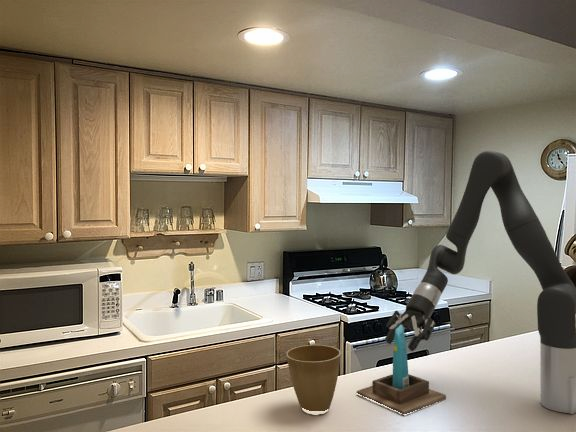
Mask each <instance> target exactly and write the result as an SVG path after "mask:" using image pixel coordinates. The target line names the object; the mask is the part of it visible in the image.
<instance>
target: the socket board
mask: <svg viewBox="0 0 576 432" xmlns="http://www.w3.org/2000/svg"><path fill="white" fill-rule="evenodd" d="M408 374H409V386H408V387H405V388H402V389H397V388H394V387H393V373H391V374H389V375H386V376H383V377H381V378H377V379H375V380H372V381H371V382H372V383H371V384H372V385H371V386H367V387H364V388H361V389H359V390H356V393H358V394H360V395H362V396H364V397H367V398H369V399H372V400H374V401H376V402H378V403H380V404H383V405H385V406H387V407H389V408H391V409H393V410H396V411H398V412H400V413H402V414H407V413H410V412H413V411H415V410H418V409H421V408H423V407H426V406H428V407H430V406H429V405H431V406H433V405H435V404H434V403H436V402H438V403H440V402H442V400H443V401H445V400H447V395H446V394H444V393H442V392H439V391H436V390H433V389H431V388H430V381H429V380H427V379H424V378H420V377H418V376H416V375H413V374H410V373H408ZM444 399H445V400H444ZM439 401H440V402H439ZM432 404H433V405H432ZM436 404H437V403H436ZM426 408H427V407H426ZM421 410H422V409H421Z"/></svg>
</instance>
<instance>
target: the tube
mask: <svg viewBox="0 0 576 432" xmlns="http://www.w3.org/2000/svg"><path fill="white" fill-rule="evenodd" d="M395 329H396V328H395ZM405 334H406V333H405V330H404V329H403V325H402V323H401V324H400V326H399V327H397V329H396V330H395V337H394V339H393V349H392V374H393V387H394V388H397V389H402V388H405V387H408V386H409V374H410V373H409V365H408V351H407V343H406V341H407V340H406V336H405Z"/></svg>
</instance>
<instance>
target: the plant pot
mask: <svg viewBox="0 0 576 432" xmlns="http://www.w3.org/2000/svg"><path fill="white" fill-rule="evenodd" d="M341 353H342V352H341V350H340V349H339V348H337V347H334V346H331V345H323V344H308V345H307V344H306V345H305V344H304V345H300V346H296V347H292V348H290V349H289V350H287V351H286V360H287V365H288V369H289V375H290V379H291V382H292V386H293V387H292V388H293V390H294V393H295V396H296V399H297V401H298V404H299V406H300V408H301V407H302V408H304V409H306V410H309V411H325V410H327V409H329V410H330V407H331V404H332V402H333V398H334V394H335V391H336V386H337V382H338V376H339V372H340V366H341V364H340V363H341V355H342V354H341Z"/></svg>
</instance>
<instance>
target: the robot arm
mask: <svg viewBox="0 0 576 432" xmlns="http://www.w3.org/2000/svg"><path fill="white" fill-rule="evenodd" d="M490 189H491V191H492V192H493V193H494V195H495V198H496V199H497V201H498V205H499V208H500V214H501V220H502V225H503V226H504V230H505V232H506V234H507V236H508V239H509V240H510V242H511V244H512V246H513V248H514V250H515V251H516V252H517V254H519V256H520V257H521V258H522V259H523V260H524V261H525V263H527V265H528V266H529V267H530V268H531V270H532V272H534V274H535V276H536V277H537V279H538V282H539V285H540V286H541V289H542V291H541V292H540V293H539V294H538V296H537V297H538V298H537V304H536V313H537V314H536V315H537V316H536V318H537V331H538V334H539V337H540V339H539V341H540V344H539V345H540V346H539V347H540V348H539V349H540V350H539V351H540V352H539V353H540V359H539V361H540V364H539V365H540V367H539V369H540V370H539V371H540V375H539V376H540V380H539V381H540V383H539V384H540V393H539V396H540V405H542V406H543V408H546V409H548V410H550V411H554V412H556V413H557V412H558V413H566V414H570V415H573V414H575V413H576V285H575V284H574V283H573V281H572V280H571V278H570V276H568V273H567V272H566V271H565V269H564V267H563V266H562V263H561V262H560V260H559V258H558V254H557V253H556V251H555V249H554V247H553V245H552V243H551V241H550V239H549V237H548V235H547V233H546V231H545V228H544V227H543V225H542V223H541V221H540V219H539V217H538V215H537V214H536V212H535V210H534V208H533V207H532V205H531V203H530V201H529V200H528V198H527V197H526V195H525V193H524V191H523V190H522V187H521V185H520V183H519V180H518V178H517V175H516V172H515V169H514V167H513V164H512V161H511V160H510V158H509V157H508V156H507V155H506V154H504V153H501V152H498V151H496V150H495V151H494V150H483V151H482V152H480V153H478V154H477V155H476V156H475V158H474V160H473V162H472V166H471V168H470V171H469V176H468V179H467V182H466V186H465V189H464V191H463V195H462V198H461V201H460V203H459V206H458V208H457V211H456V212H455V214H454V216H453V219H452V221H451V224H450V225H449V227H448V229H447V231H446V234H445V235H446V236H445V237H446V240H448V241H449V242H450V243H451V244H453V245H454V246H455V248H456V250H454V249H452V248H449V247H447V246H445V245H443V244H439V245H438V244H437V245H435V246H434V247H433V249H432V250H431V252H430V256H429V260H428V266H427V269H426V272H425V274H424V276H423V277H422V280H421V281H420V283H419V284H418V285H417V287H416V288H415V290H414V292H413V294H412V295H411V297H410V298H409V299H408V302H407V303H406V305H405V311H404V312H403V313H401V312H399V310H395V311H394V312H393V313H392V315H391V317H390V318H389V320H388V321H387V323H386V325H385V326H386V327H387V328H388V329H389V330H388V333H387V334H386V336H385V342H386V343H387V344H388V345H391V344H392V343H393V342H394V337H395V330H396V329H397V328H398V327H399V326H400V325H401V324H402V325H403V329H404V331H405V330H407V331H412V332H413V333H414V335H413V337H412V338H411V339H410V341H409V344H408V346H407V348H408V349H409V350H410V351H411V352H414V351H415V350H416V349H417V348H418V346H419V345H420V343H421V341H423V340H424V341H429V339H430V337H431V335H432V333H433V331H434V329H435V327H436V323H435V320H433V319H432V318H431V316H432V314H433V313H434V311H435V309H436V307H437V306H438V303H439V301H440V299H441V296H442V294H443V292H444V290H445V289H446V287H447V285H448V283H449V279H448V277H447V276H446V274H445V273H444V272H446V273H448V274H450V275H457V274H460V273H461V272H462V271H463V269H464V266H465V262H466V254H467V248H468V245H469V243H470V240H471V238H472V237H473V234H474V232H475V230H476V228H477V225H478V223H479V220H480V215H481V211H482V206H483V204H484V200H485V198H486V196H487V193H488V192H489V190H490ZM440 269H441V270H440ZM442 270H443V271H444V272H442ZM422 327H423V328H422Z"/></svg>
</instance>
